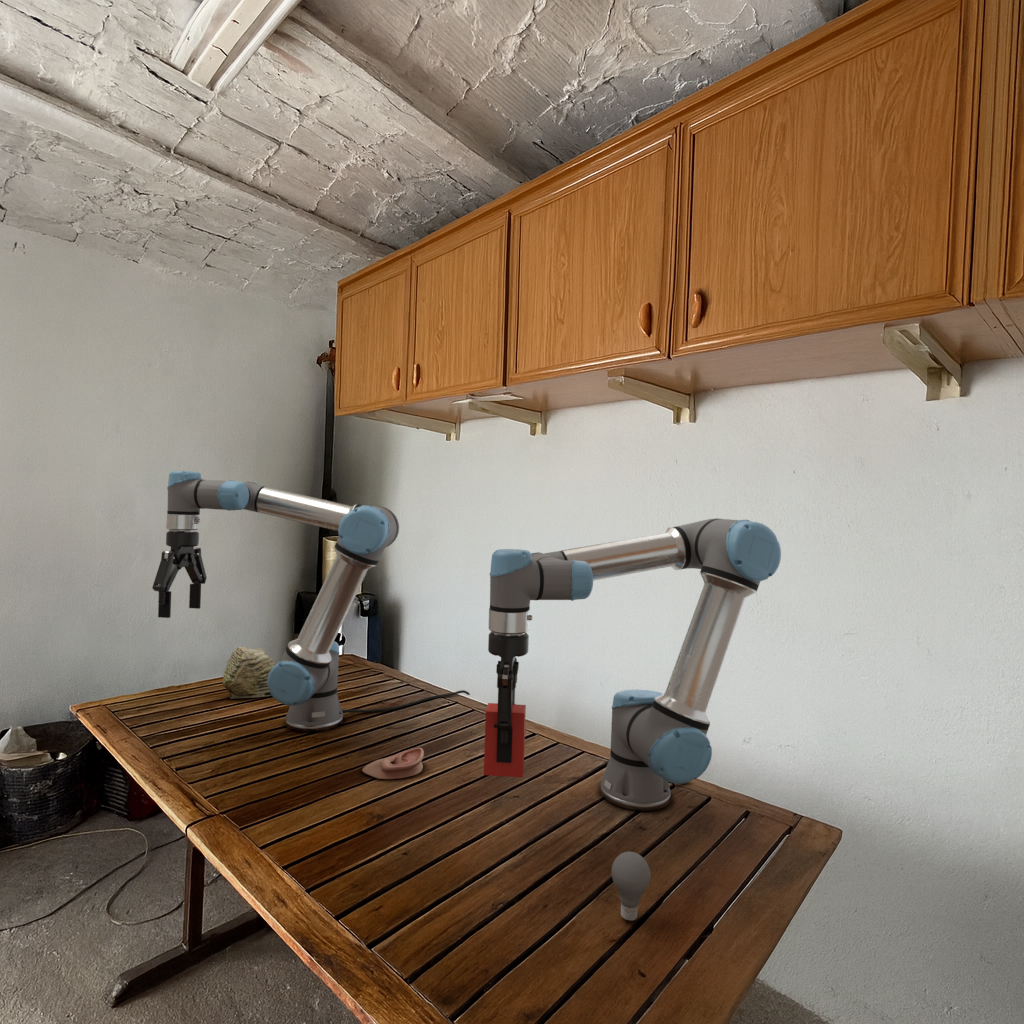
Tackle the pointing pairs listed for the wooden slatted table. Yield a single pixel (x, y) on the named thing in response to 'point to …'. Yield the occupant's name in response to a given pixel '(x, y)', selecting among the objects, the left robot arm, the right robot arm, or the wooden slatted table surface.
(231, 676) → the fossil
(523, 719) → the brick
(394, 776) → the anatomical model
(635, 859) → the light bulb
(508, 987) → the wooden slatted table surface
